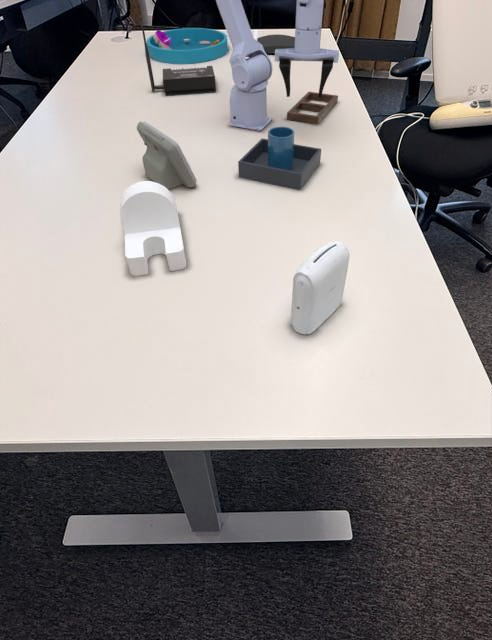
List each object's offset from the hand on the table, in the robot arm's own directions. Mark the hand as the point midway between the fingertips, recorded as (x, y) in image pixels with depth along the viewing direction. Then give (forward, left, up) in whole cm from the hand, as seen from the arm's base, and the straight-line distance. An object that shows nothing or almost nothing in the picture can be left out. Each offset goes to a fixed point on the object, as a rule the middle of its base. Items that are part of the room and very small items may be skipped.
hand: (304, 95), depth 105 cm
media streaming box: (-36, +69, -8) cm, 79 cm away
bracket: (-9, -55, -10) cm, 56 cm away
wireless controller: (-48, +21, -10) cm, 54 cm away
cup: (+2, -19, -9) cm, 21 cm away
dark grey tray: (+2, -19, -10) cm, 21 cm away
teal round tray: (-66, +55, -10) cm, 87 cm away
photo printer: (+26, -62, -10) cm, 67 cm away
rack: (-3, +18, -10) cm, 21 cm away
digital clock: (-20, -32, -10) cm, 39 cm away
